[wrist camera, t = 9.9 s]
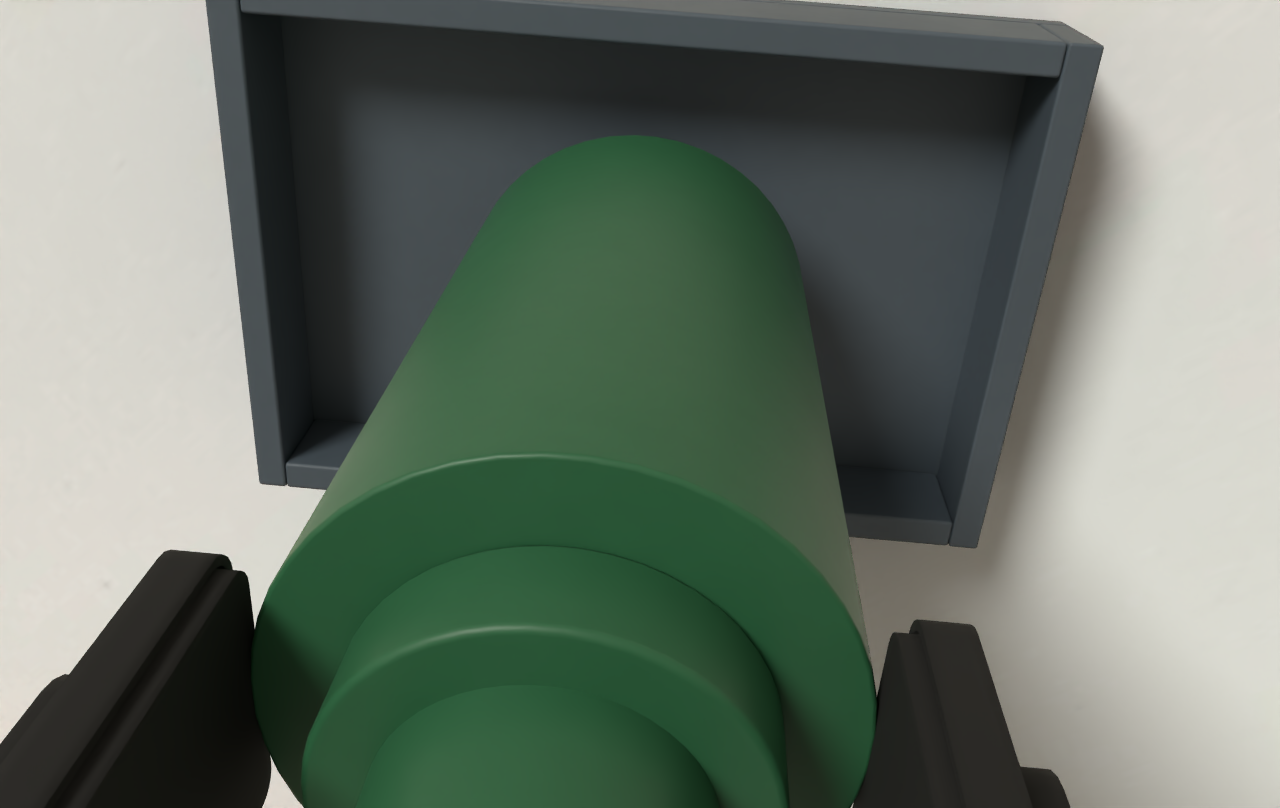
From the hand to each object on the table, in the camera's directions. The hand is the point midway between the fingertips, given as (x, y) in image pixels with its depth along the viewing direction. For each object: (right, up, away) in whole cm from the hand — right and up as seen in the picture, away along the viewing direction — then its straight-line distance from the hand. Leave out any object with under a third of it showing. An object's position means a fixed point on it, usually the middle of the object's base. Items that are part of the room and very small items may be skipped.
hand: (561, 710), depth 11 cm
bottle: (+1, +5, +10) cm, 11 cm away
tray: (+1, +6, +12) cm, 14 cm away
